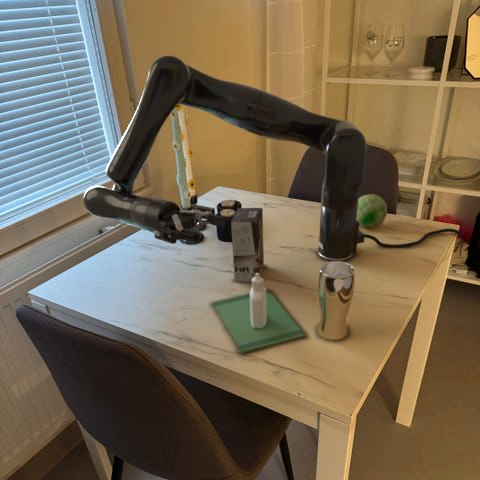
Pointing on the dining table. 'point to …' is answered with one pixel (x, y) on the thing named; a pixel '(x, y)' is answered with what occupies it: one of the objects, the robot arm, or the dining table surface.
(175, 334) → the dining table surface
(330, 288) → the beer glass
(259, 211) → the coffee box
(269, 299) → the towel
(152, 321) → the dining table surface
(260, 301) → the eye dropper bottle
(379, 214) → the decorative ball
